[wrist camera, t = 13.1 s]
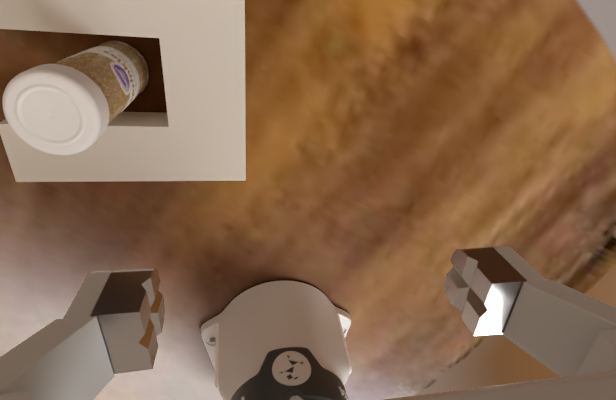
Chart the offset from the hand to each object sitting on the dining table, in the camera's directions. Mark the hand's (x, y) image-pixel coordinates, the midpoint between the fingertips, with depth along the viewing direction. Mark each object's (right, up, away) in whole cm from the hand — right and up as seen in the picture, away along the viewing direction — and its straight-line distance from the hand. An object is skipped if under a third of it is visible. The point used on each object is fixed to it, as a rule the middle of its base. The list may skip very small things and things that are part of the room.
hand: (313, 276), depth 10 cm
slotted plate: (-15, +13, +21) cm, 28 cm away
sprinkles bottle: (-16, +13, +21) cm, 29 cm away
